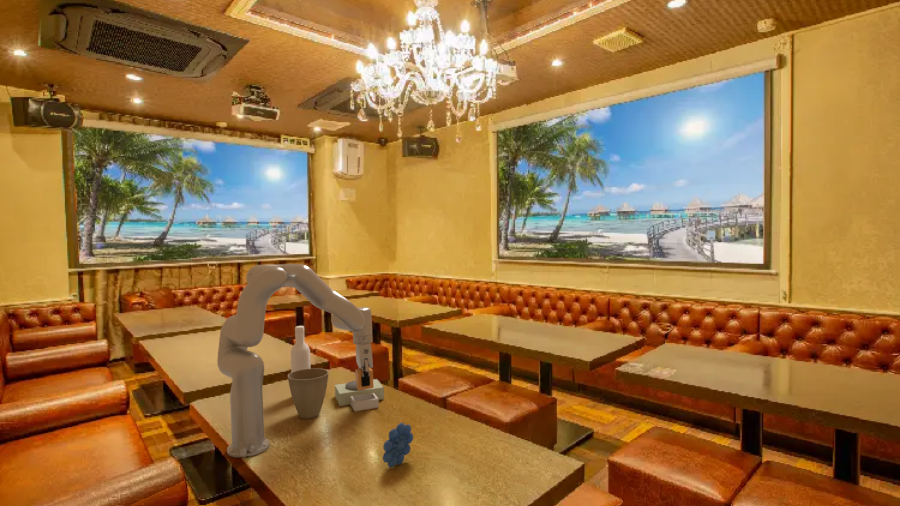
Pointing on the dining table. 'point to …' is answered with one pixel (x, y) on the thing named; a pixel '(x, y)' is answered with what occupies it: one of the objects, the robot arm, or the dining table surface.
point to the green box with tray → (359, 395)
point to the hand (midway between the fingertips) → (364, 383)
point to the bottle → (300, 351)
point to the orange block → (359, 382)
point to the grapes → (397, 444)
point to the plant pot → (308, 390)
